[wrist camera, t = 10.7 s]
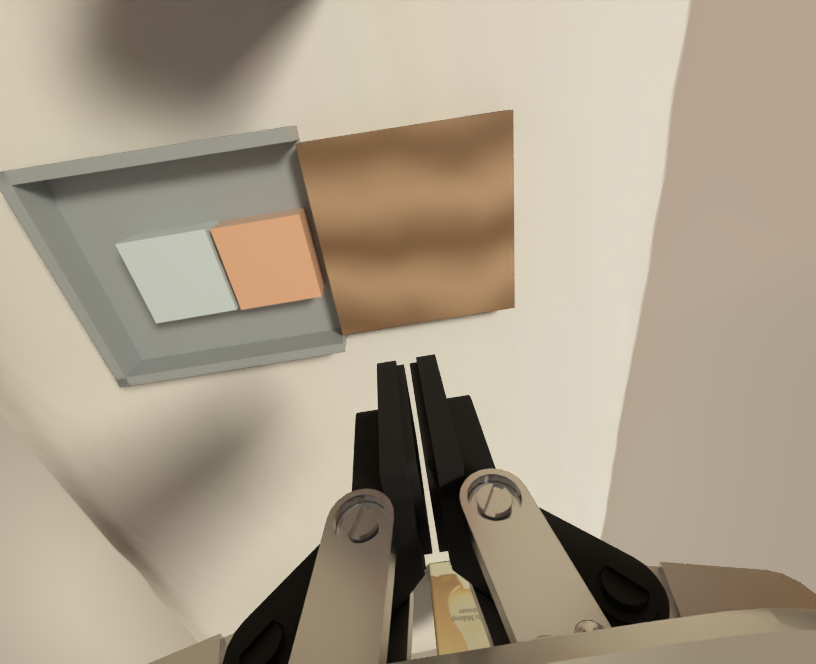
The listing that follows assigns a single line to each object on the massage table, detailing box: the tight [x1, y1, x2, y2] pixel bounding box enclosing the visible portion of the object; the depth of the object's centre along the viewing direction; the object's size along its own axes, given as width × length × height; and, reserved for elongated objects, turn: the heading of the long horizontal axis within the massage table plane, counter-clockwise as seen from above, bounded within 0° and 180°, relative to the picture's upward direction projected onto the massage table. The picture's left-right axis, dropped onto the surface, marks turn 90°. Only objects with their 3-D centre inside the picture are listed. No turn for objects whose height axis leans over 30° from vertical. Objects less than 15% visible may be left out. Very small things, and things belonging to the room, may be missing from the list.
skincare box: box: [429, 562, 491, 656], centre depth 46 cm, size 6×4×12 cm
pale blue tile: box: [115, 221, 240, 323], centre depth 29 cm, size 6×6×2 cm
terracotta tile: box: [210, 207, 325, 310], centre depth 29 cm, size 6×6×2 cm
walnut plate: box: [295, 110, 515, 335], centre depth 29 cm, size 14×14×2 cm
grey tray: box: [0, 126, 347, 387], centre depth 29 cm, size 16×18×3 cm
